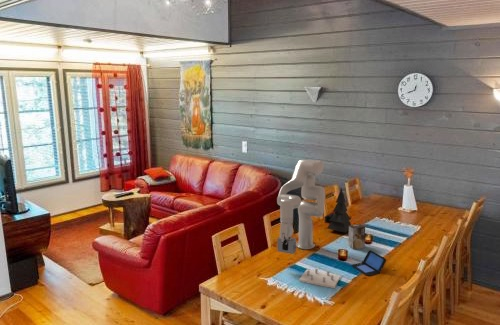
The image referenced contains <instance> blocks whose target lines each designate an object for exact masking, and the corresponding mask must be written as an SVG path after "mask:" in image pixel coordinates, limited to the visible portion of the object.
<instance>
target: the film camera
mask: <svg viewBox="0 0 500 325" xmlns="http://www.w3.org/2000/svg"><path fill="white" fill-rule="evenodd" d="M334 213H335V212H331V213H330V214H328V215H327V214H326V215H325V216H323V218H324V223H326V224H330V223H331V221H329V220H330V219H331V217H332V216H333V214H334Z"/></svg>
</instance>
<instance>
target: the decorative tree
mask: <svg viewBox="0 0 500 325" xmlns="http://www.w3.org/2000/svg"><path fill="white" fill-rule="evenodd" d="M335 203H336V205H335V207H334V208H333V210H332V213H334V214H333V216H332V217H331V219H330V220H329V221H331V223H328V226H327V227H326V228H327V229H329V230H333V231H336V232H337V233H347V232H349V225H352V223H351V220H352V218H351V217H350V216H349V214H348V209H347V206H346V198H345V195H344V192H343V188H342V187H340V190H339V194H338V195H337V198H336V201H335Z"/></svg>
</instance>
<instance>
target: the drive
mask: <svg viewBox="0 0 500 325" xmlns="http://www.w3.org/2000/svg"><path fill="white" fill-rule="evenodd" d="M285 239H286V238H285ZM281 240H282V238H281V239H280V236H279V237H278V238H277V241H276V242H277V249H276V250H277V252H278V253H279V252H280V253H285V254H291V255H294V254H295V253H296V252H297V246H296V244H297V238H296V237H292V236H291V237H290V238H289V239H288V240H287V244H288V250H287V251H286V250H282V241H281ZM285 241H286V240H285Z"/></svg>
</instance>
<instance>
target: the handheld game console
mask: <svg viewBox="0 0 500 325" xmlns="http://www.w3.org/2000/svg"><path fill="white" fill-rule="evenodd" d="M386 262H387V259H386V258H385V257H383V256H381V255H380V254H378V253H376V252H374V251H373V250H371V249H369V250H368V251H367V252H366V255H365V257H364V259H363V260H362V261H361V262H359V263H354V264H352V265H351V267H353V269H355V270H357V271H358V272H360V274H363V275H364V276H366V277H372V276H377V275H380V274H381V272H382V270H383V268H384V266H385V264H386Z"/></svg>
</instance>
